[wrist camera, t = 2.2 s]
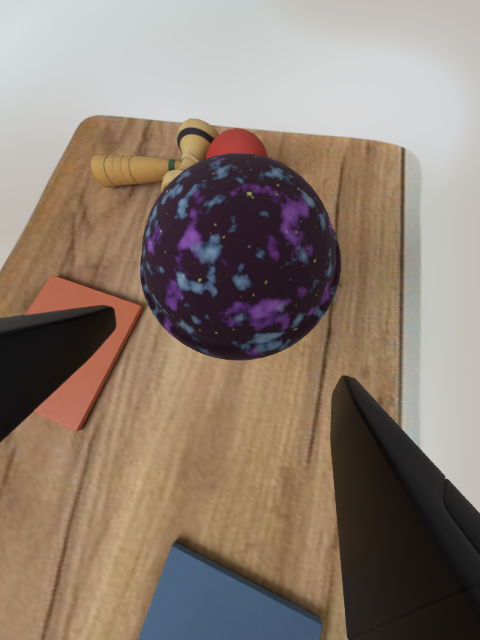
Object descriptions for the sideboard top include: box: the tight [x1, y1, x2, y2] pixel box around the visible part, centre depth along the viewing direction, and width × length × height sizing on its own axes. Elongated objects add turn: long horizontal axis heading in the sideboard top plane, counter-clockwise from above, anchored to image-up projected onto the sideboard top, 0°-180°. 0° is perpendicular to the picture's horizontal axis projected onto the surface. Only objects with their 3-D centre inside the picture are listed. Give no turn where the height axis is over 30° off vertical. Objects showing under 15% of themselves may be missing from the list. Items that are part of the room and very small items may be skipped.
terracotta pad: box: [26, 275, 143, 431], centre depth 20 cm, size 11×10×1 cm
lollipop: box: [140, 153, 341, 360], centre depth 12 cm, size 7×7×15 cm
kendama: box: [91, 119, 268, 193], centre depth 22 cm, size 8×6×18 cm
